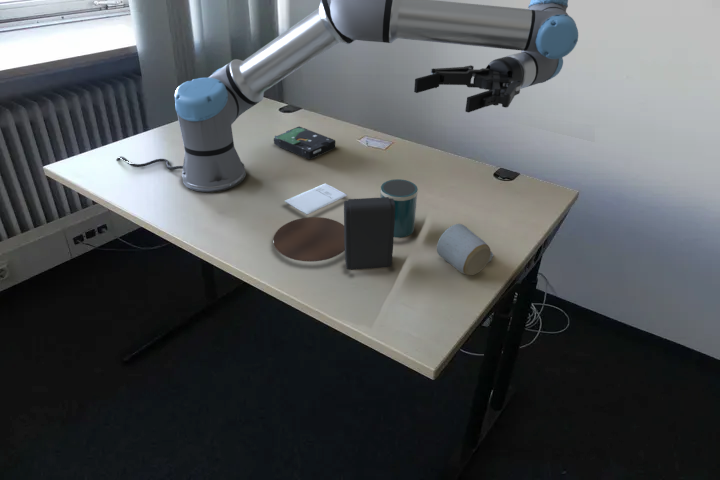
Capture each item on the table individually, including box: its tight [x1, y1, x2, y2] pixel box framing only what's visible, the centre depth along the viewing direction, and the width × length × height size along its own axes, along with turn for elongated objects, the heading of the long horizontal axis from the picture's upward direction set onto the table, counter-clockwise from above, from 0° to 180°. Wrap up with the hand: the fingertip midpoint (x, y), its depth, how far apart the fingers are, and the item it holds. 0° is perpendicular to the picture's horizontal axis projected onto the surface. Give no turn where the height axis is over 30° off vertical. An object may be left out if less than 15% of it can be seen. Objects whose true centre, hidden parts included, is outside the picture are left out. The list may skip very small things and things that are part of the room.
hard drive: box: [283, 183, 348, 216], centre depth 120 cm, size 2×8×12 cm
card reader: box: [343, 196, 395, 271], centre depth 96 cm, size 9×4×15 cm, turn 97°
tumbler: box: [379, 178, 419, 239], centre depth 107 cm, size 8×8×11 cm
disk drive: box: [273, 125, 336, 160], centre depth 145 cm, size 10×3×15 cm
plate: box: [272, 216, 345, 262], centre depth 107 cm, size 16×16×1 cm
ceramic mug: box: [436, 223, 494, 276], centre depth 100 cm, size 11×8×8 cm
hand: (440, 95), depth 100 cm, fingers open, 13 cm apart
